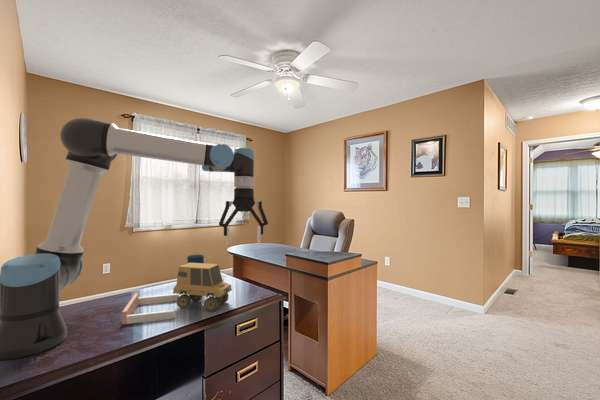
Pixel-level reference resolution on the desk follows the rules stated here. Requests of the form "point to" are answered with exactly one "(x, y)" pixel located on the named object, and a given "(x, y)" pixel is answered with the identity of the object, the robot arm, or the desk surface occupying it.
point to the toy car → (201, 285)
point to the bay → (145, 317)
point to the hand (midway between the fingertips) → (243, 243)
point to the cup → (195, 258)
